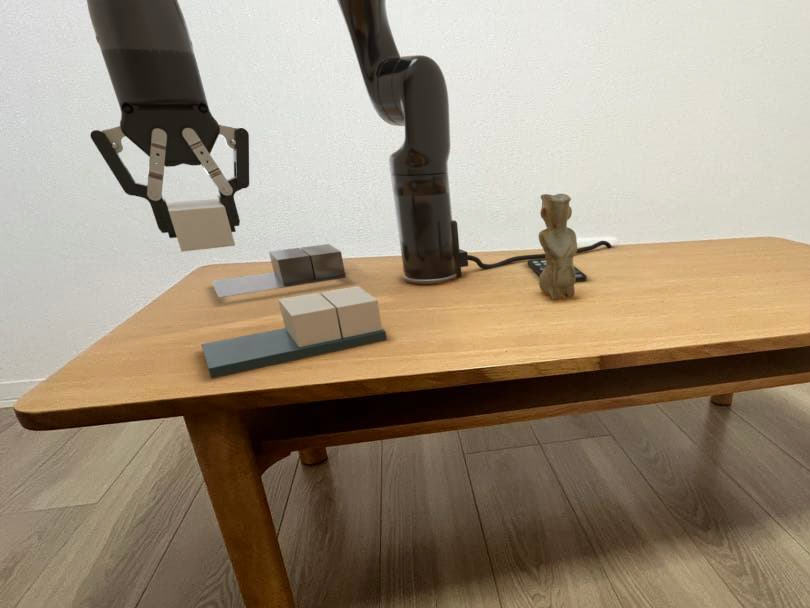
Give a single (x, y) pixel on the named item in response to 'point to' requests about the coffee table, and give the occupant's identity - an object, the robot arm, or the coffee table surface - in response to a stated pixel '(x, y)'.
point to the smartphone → (540, 264)
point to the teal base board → (302, 332)
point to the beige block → (200, 224)
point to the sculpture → (557, 247)
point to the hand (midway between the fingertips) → (203, 233)
